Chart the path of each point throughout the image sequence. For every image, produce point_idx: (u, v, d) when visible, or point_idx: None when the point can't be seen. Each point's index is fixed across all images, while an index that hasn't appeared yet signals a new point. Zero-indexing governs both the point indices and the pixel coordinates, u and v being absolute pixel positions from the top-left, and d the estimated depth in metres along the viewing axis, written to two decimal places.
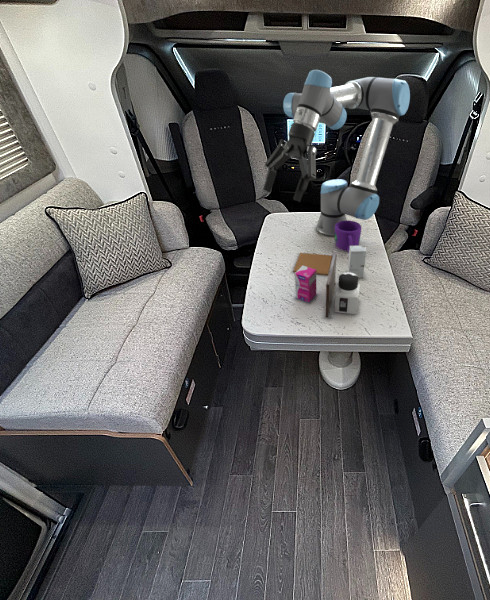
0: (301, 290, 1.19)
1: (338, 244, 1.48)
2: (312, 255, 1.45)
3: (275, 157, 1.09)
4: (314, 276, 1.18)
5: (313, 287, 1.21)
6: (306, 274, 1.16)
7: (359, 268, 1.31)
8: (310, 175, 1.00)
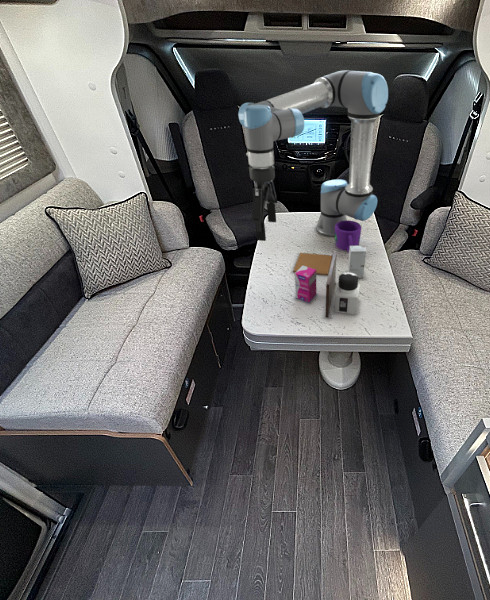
0: (301, 290, 1.19)
1: (338, 244, 1.48)
2: (312, 255, 1.45)
3: None
4: (314, 276, 1.18)
5: (313, 287, 1.21)
6: (306, 274, 1.16)
7: (359, 268, 1.31)
8: None
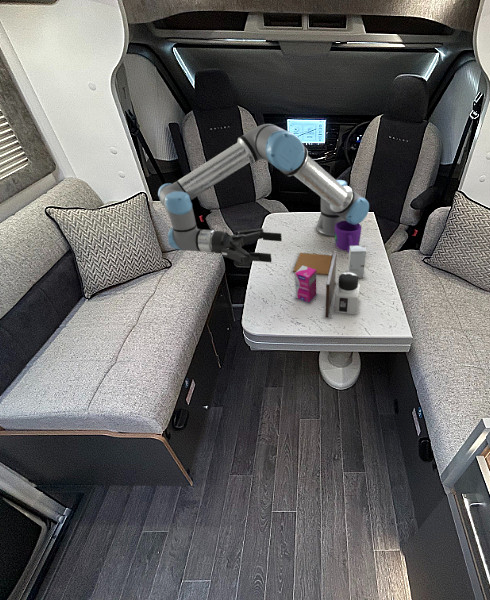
0: (301, 290, 1.19)
1: (338, 244, 1.48)
2: (312, 255, 1.45)
3: None
4: (314, 276, 1.18)
5: (313, 287, 1.21)
6: (306, 274, 1.16)
7: (359, 268, 1.31)
8: None
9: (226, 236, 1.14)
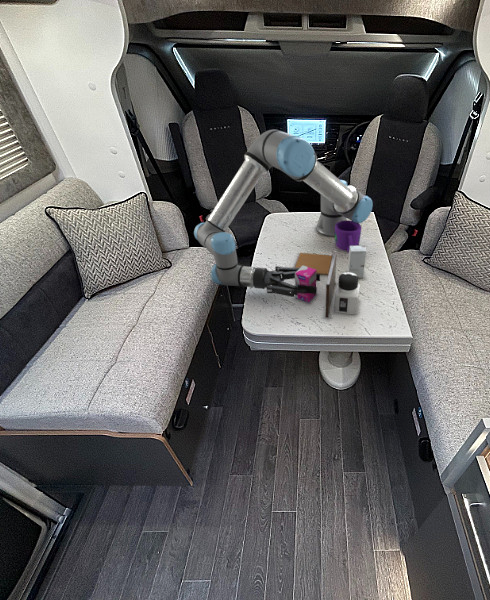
0: None
1: (338, 244, 1.48)
2: (312, 255, 1.45)
3: None
4: (314, 276, 1.18)
5: None
6: (306, 274, 1.16)
7: (359, 268, 1.31)
8: None
9: (266, 272, 1.21)
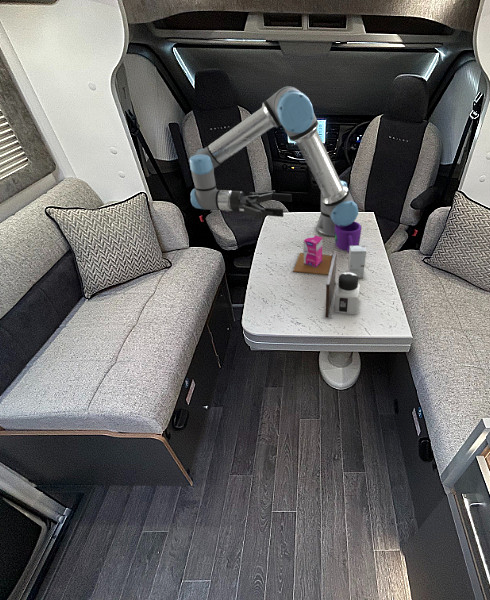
0: (309, 256, 1.36)
1: (338, 244, 1.48)
2: None
3: None
4: (320, 243, 1.35)
5: (320, 253, 1.37)
6: (314, 241, 1.32)
7: (359, 268, 1.31)
8: None
9: (242, 196, 1.28)
